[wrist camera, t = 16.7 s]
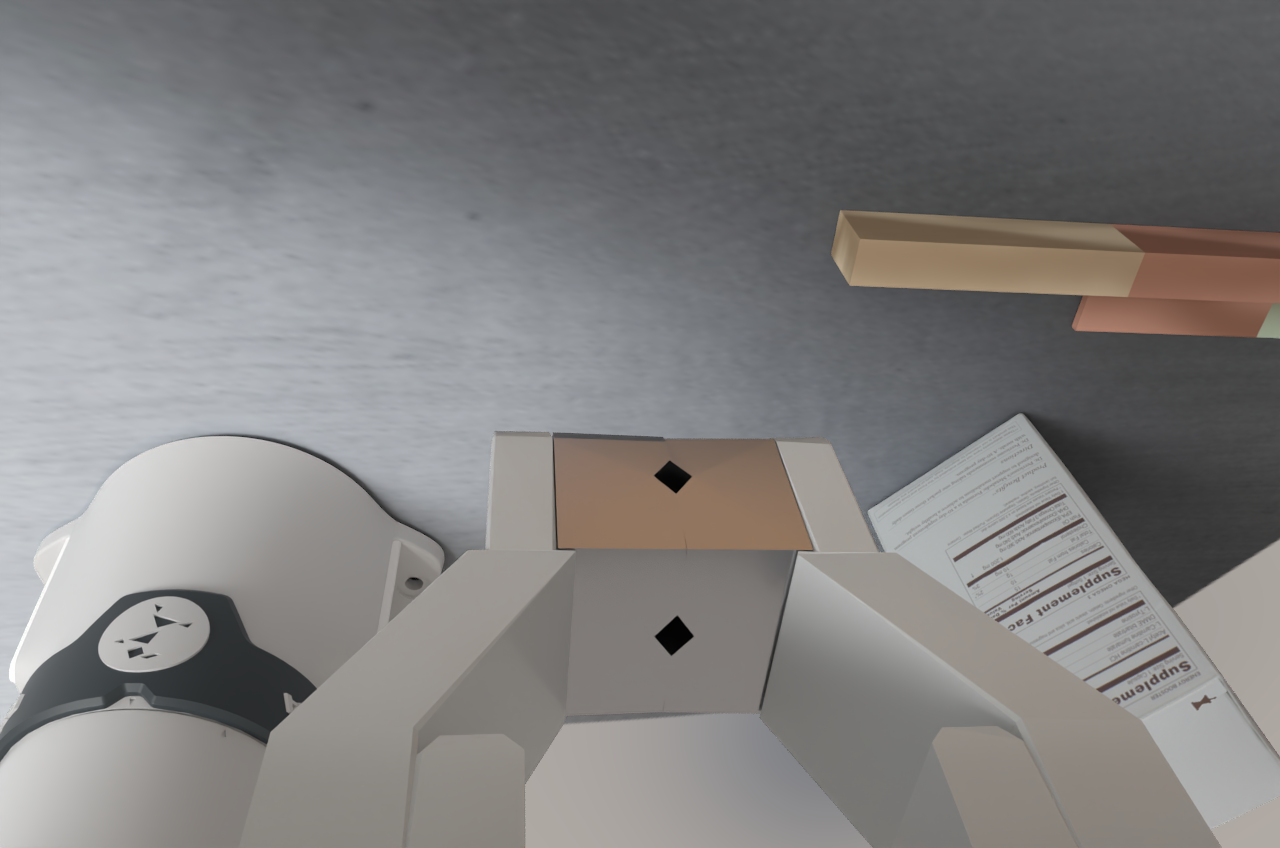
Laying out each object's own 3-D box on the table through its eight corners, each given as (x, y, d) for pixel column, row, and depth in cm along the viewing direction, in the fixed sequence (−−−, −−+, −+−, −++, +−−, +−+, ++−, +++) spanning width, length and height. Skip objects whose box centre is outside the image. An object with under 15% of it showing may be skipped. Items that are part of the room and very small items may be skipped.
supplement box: (860, 509, 51) (986, 795, 37) (1020, 405, 48) (1221, 671, 34) (951, 606, 55) (1094, 894, 41) (1102, 517, 52) (1309, 792, 38)
